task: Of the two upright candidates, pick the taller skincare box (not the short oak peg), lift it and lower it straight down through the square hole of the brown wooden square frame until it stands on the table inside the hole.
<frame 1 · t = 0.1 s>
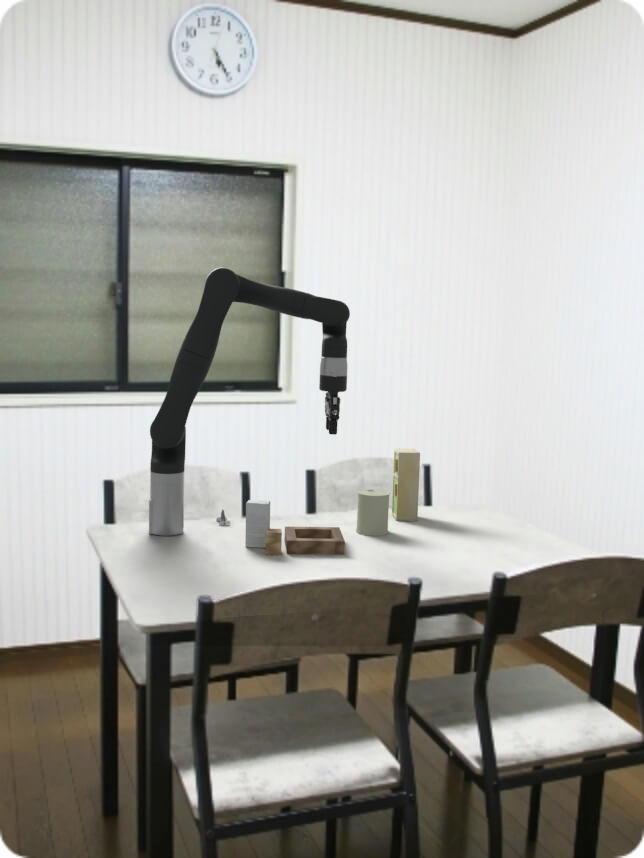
hand: (331, 432, 256), 29 cm above the table, tool pointing down, fingers open, 8 cm apart
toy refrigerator: (403, 518, 284), on the table
short oak peg: (273, 553, 239), on the table
grey spired figurine: (225, 529, 266), on the table
brown wooden square frame: (313, 546, 247), on the table
skincare box: (257, 546, 246), on the table
can: (372, 532, 265), on the table
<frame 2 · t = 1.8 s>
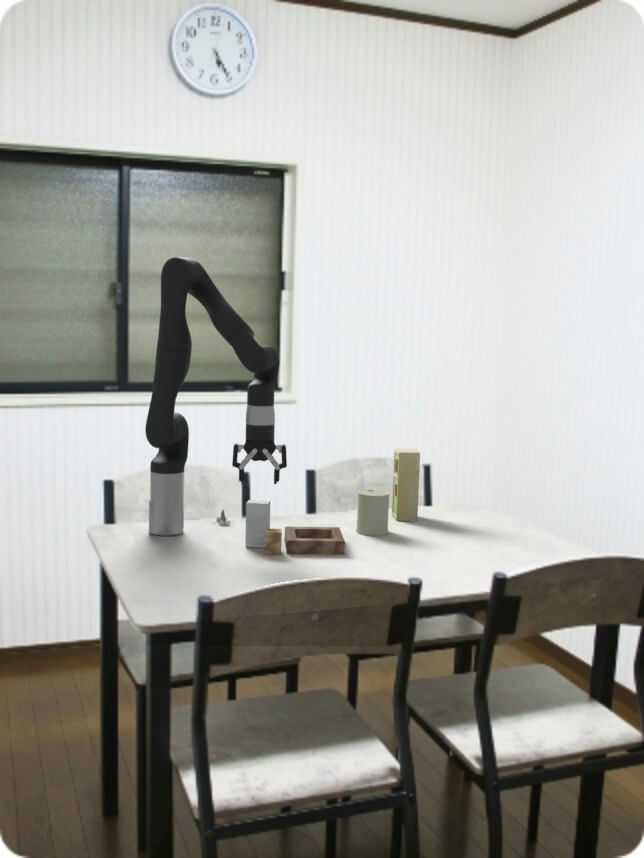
hand: (259, 483, 244), 17 cm above the table, tool pointing down, fingers open, 8 cm apart
nothing on the table moved.
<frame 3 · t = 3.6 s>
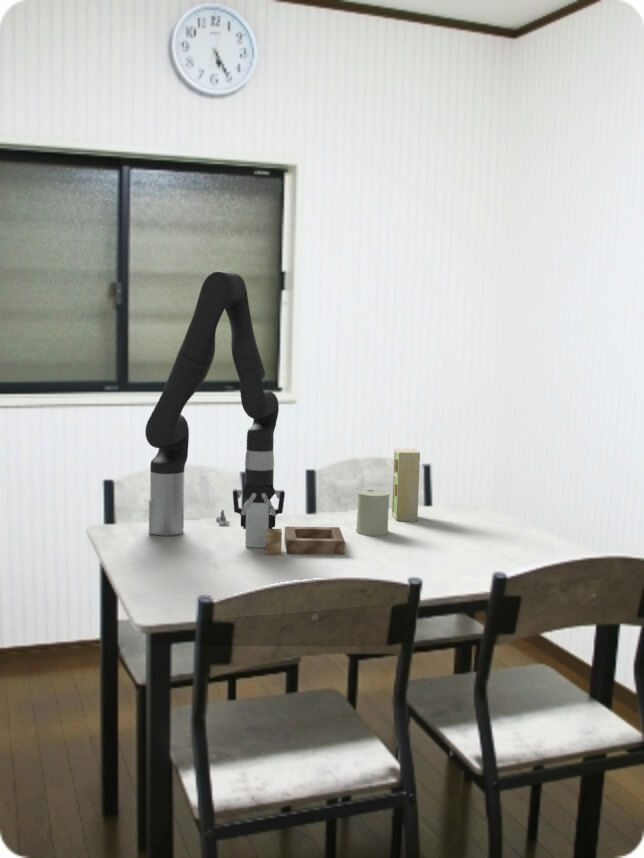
hand: (257, 528, 245), 5 cm above the table, tool pointing down, fingers closed on skincare box, 6 cm apart
skincare box: (257, 546, 246), on the table, touching gripper
everything else where it was.
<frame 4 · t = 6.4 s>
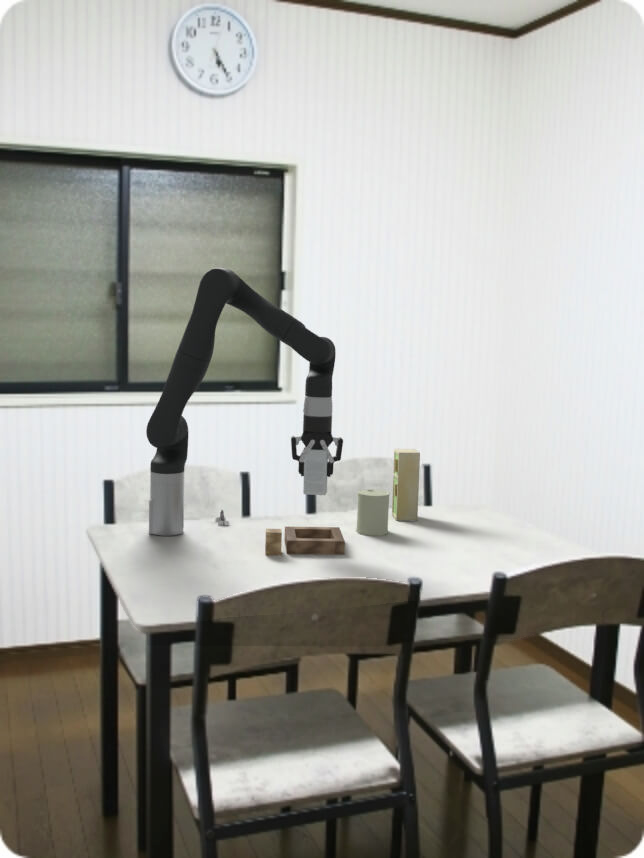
hand: (315, 475, 244), 19 cm above the table, tool pointing down, fingers closed on skincare box, 6 cm apart
skincare box: (314, 494, 245), point 14 cm above the table, touching gripper
everything else where it was.
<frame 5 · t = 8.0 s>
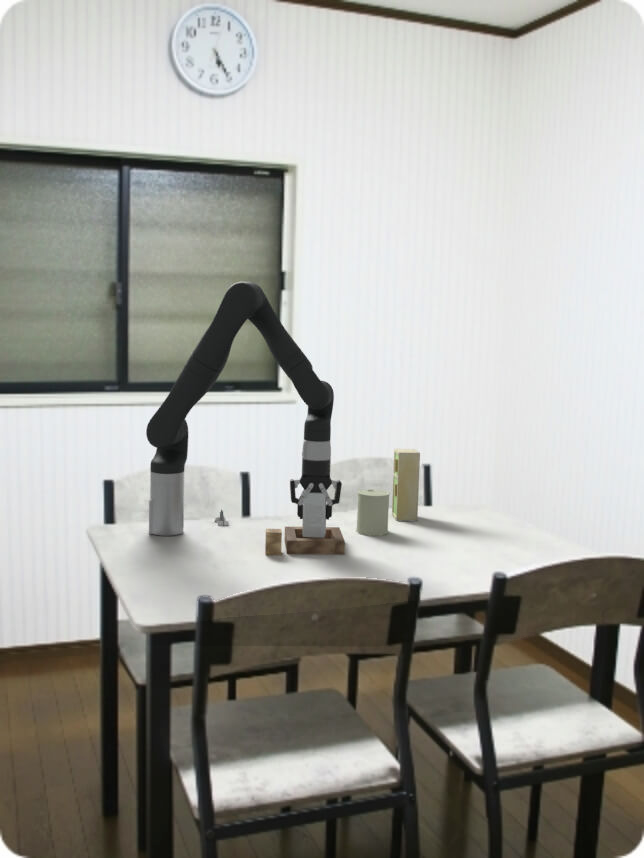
hand: (314, 518, 246), 8 cm above the table, tool pointing down, fingers closed on skincare box, 6 cm apart
skincare box: (313, 536, 247), point 3 cm above the table, touching gripper
everything else where it was.
when the fingers open (5 cm above the table, at t = 9.4 s): skincare box stays where it is, resting in brown wooden square frame.
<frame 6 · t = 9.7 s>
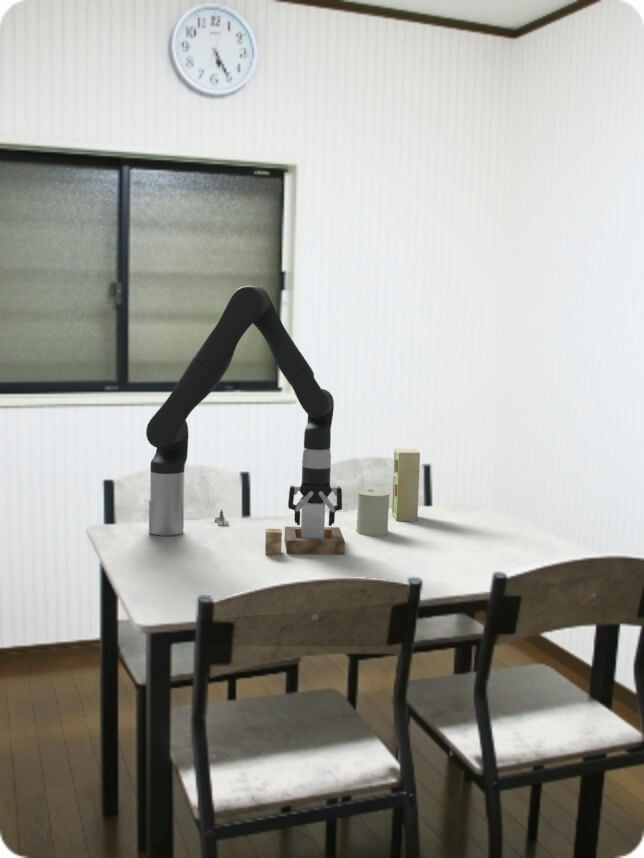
hand: (314, 524, 246), 6 cm above the table, tool pointing down, fingers open, 8 cm apart
skincare box: (312, 547, 247), resting in brown wooden square frame
everything else where it was.
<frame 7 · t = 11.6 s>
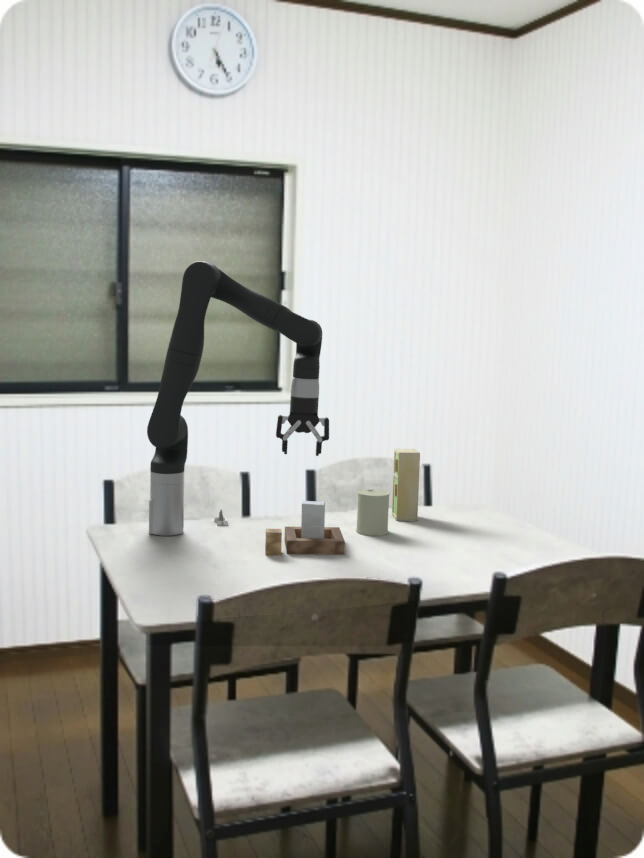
hand: (301, 454, 249), 24 cm above the table, tool pointing down, fingers open, 8 cm apart
nothing on the table moved.
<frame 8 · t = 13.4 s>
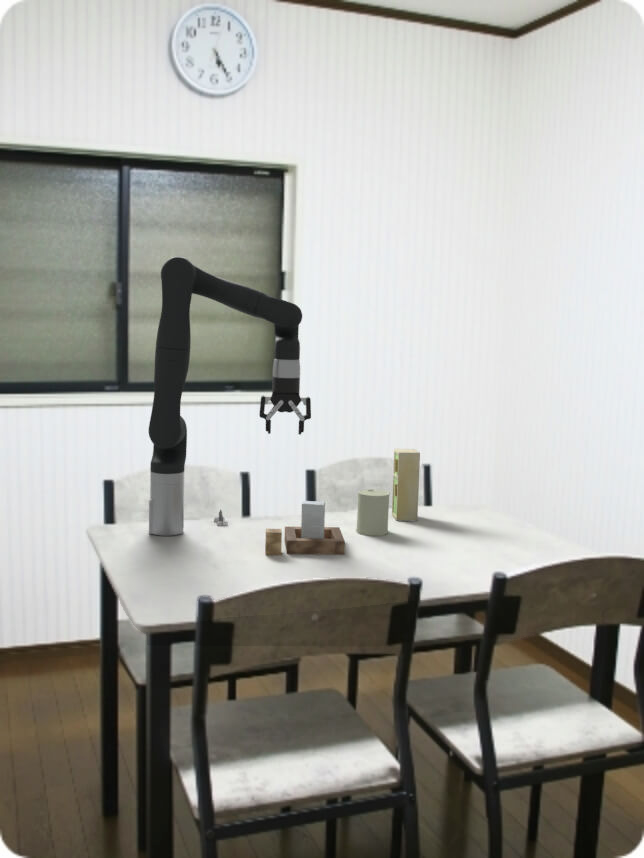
hand: (284, 433, 257), 28 cm above the table, tool pointing down, fingers open, 8 cm apart
nothing on the table moved.
at the end: skincare box inside the target area on the brown wooden square frame (0.4 cm from its centre), point 0.0 cm above the brown wooden square frame's base; skincare box tilted 0°; short oak peg moved 0.1 cm from its start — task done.
